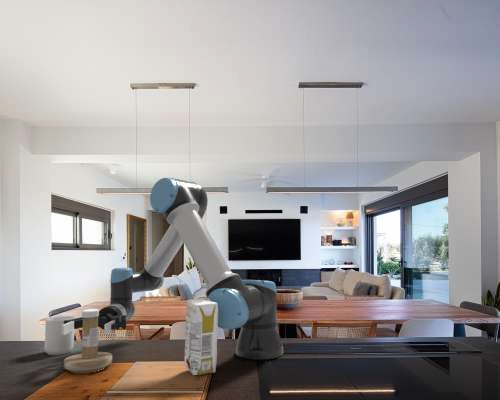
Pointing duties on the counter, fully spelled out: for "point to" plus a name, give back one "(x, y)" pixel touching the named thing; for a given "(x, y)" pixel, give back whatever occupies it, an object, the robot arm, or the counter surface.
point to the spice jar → (90, 333)
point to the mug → (58, 336)
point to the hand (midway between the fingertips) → (83, 329)
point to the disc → (87, 363)
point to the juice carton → (201, 336)
